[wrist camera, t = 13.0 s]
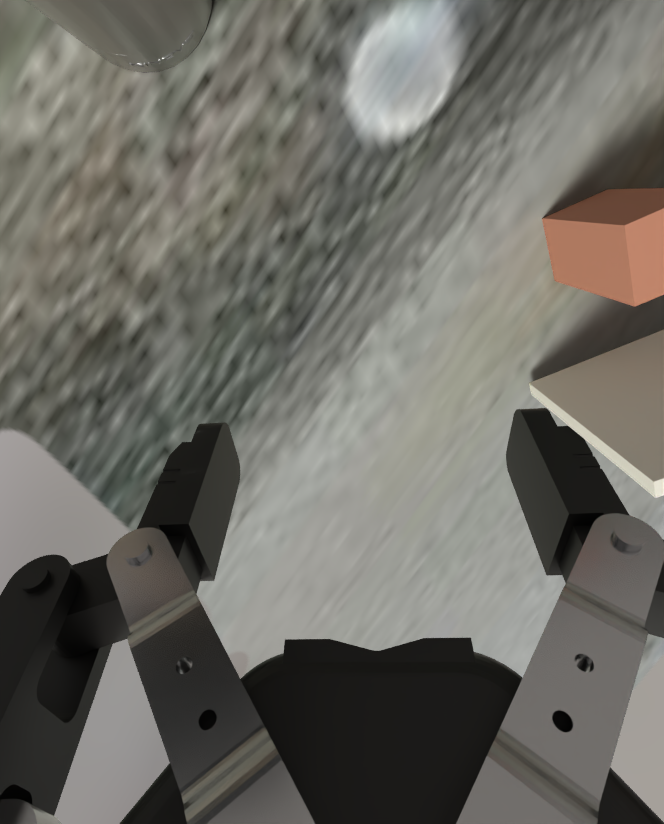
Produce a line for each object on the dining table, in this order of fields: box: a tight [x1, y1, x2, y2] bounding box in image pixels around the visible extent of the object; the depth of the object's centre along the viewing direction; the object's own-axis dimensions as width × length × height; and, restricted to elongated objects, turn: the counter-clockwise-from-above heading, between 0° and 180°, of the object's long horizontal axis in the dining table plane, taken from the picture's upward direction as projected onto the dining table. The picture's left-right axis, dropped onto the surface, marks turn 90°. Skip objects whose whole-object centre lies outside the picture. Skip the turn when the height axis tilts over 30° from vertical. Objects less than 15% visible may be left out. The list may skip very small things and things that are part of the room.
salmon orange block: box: [542, 188, 664, 307], centre depth 31 cm, size 5×5×10 cm
